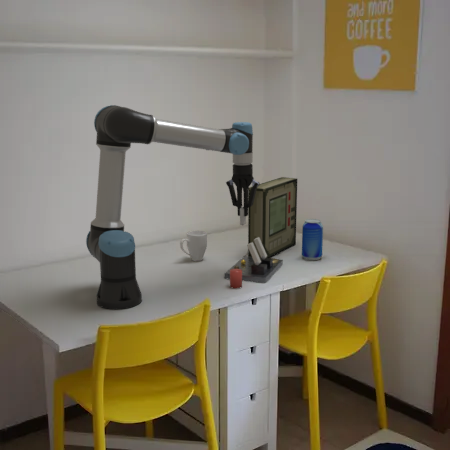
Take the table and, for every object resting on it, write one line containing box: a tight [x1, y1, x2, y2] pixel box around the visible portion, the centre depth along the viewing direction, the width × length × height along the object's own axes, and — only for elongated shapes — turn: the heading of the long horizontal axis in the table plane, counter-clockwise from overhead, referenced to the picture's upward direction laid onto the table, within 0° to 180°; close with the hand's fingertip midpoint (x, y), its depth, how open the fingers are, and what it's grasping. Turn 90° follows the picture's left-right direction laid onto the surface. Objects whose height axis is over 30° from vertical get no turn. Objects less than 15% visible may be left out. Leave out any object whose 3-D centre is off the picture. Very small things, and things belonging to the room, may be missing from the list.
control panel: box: [247, 176, 298, 258], centre depth 268 cm, size 30×8×30 cm, turn 148°
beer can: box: [301, 218, 324, 261], centre depth 260 cm, size 8×8×16 cm
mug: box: [179, 230, 208, 262], centre depth 257 cm, size 12×8×11 cm
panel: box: [224, 255, 284, 284], centre depth 244 cm, size 24×16×5 cm, turn 160°
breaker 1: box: [247, 242, 261, 266], centre depth 235 cm, size 3×2×8 cm, turn 160°
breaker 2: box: [254, 237, 267, 260], centre depth 243 cm, size 3×2×8 cm, turn 160°
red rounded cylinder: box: [229, 269, 243, 289], centre depth 227 cm, size 4×4×6 cm
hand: (242, 224), depth 243 cm, fingers closed
